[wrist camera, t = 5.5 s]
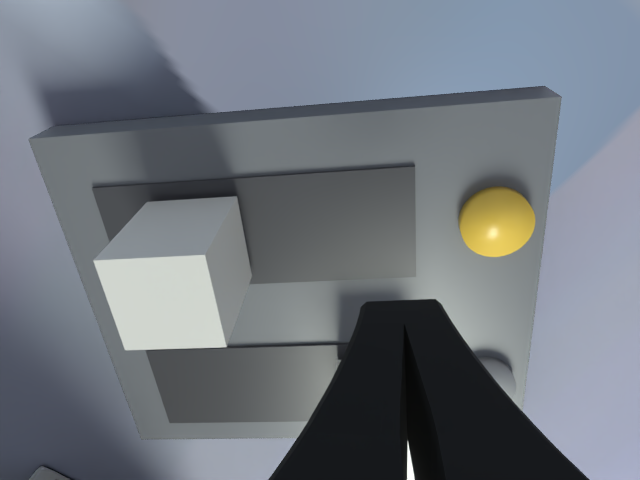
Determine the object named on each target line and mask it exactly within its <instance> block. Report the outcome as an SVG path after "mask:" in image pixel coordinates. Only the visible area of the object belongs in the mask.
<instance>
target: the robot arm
mask: <svg viewBox="0 0 640 480" xmlns="http://www.w3.org/2000/svg"><path fill="white" fill-rule="evenodd" d="M408 444H409V450H410V456H411V461H412V467H413V472H414V478H415V480H589V479H588V478H587V477H586V476H585V475H584V474H583V473H582V472H581V471H580V470H579V469H578V468H577V467H576V466H575V465H574V464H573V463H572V462H570V461H569V460H568V459H567V458H566V457H565V456H564V455H563V454H562V453H561V452H560V451H559V450H558V449H557V448H556V447H555V446H554V445H553V444H552V443H551V442H550V441H549V440H548V439H547V438H546V437H545V435H544V434H543V433H542V432H541V431H540V430H539V429H538V428H537V427H536V426H535V425H534V424H533V423H532V422H531V421H530V419H529V418H528V417H527V416H526V415H525V414H524V413H523V412H522V411H521V409H520V408H519V407H518V406H517V405H516V404H515V403H514V402H513V401H512V399H511V398H510V397H509V396H508V395H507V394H506V392H505V391H504V390H503V389H502V388H501V387H500V385H499V384H498V383H497V382H496V380H495V379H494V378H493V377H492V375H491V374H490V373H489V372H488V370H487V369H486V368H485V367H484V365H483V364H482V363H481V362H480V360H479V359H478V358H477V356H476V355H475V354H474V352H473V351H472V350H471V348H470V347H469V346H468V344H467V343H466V341H465V340H464V339H463V337H462V336H461V334H460V333H459V331H458V330H457V329H456V327H455V326H454V324H453V322H452V321H451V319H450V318H449V316H448V314H447V313H446V311H445V309H444V308H443V306H442V304H441V303H440V302H438V301H437V300H436V299H420V300H393V301H367V302H366V303H364V304H363V305H362V306H361V308H360V313H359V317H358V320H357V323H356V326H355V329H354V332H353V334H352V337H351V339H350V342H349V344H348V347H347V349H346V351H345V353H344V355H343V357H342V360H341V362H340V364H339V366H338V368H337V370H336V372H335V374H334V376H333V378H332V380H331V382H330V384H329V386H328V388H327V389H326V391H325V393H324V395H323V396H322V398H321V400H320V402H319V403H318V405H317V407H316V408H315V410H314V412H313V414H312V415H311V417H310V419H309V421H308V422H307V424H306V426H305V427H304V429H303V430H302V432H301V433H300V435H299V436H298V438H297V440H296V441H295V443H294V444H293V446H292V447H291V449H290V450H289V452H288V453H287V454H286V456H285V457H284V459H283V460H282V461H281V463H280V464H279V466H278V467H277V469H276V470H275V471H274V473H273V474H272V476H271V477H270V478H269V480H407V452H408Z"/></svg>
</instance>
